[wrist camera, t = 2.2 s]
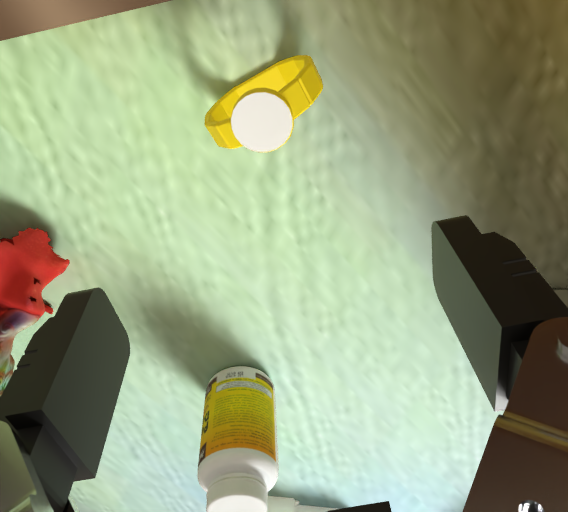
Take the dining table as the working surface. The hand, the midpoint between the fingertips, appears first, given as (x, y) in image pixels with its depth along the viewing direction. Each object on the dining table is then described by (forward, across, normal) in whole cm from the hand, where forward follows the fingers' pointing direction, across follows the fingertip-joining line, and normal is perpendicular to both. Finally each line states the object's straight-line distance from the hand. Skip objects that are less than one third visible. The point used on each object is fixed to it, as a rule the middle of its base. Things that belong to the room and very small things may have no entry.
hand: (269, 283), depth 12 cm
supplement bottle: (+17, +7, +23) cm, 30 cm away
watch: (+18, 0, 0) cm, 18 cm away
